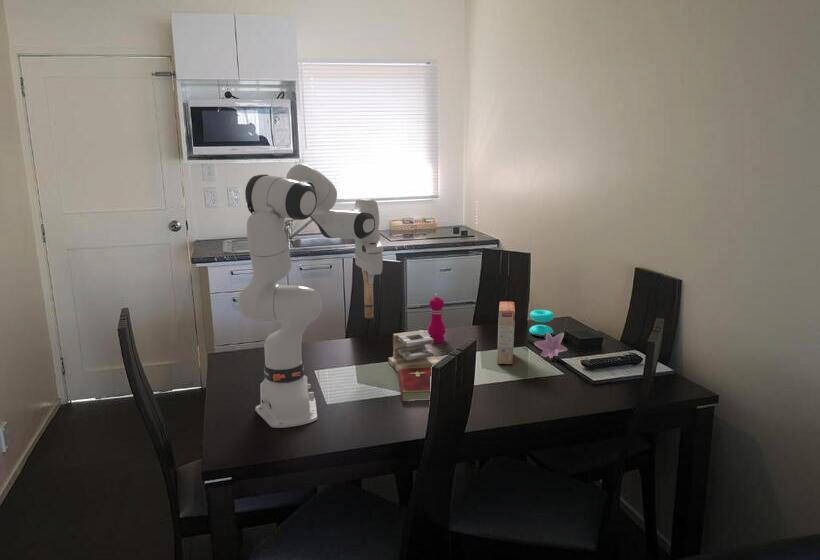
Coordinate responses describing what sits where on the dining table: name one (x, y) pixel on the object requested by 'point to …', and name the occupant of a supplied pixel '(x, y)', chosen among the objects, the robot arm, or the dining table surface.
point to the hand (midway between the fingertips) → (368, 282)
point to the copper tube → (368, 297)
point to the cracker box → (506, 332)
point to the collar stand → (412, 350)
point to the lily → (551, 345)
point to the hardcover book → (415, 383)
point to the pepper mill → (436, 320)
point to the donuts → (541, 317)
